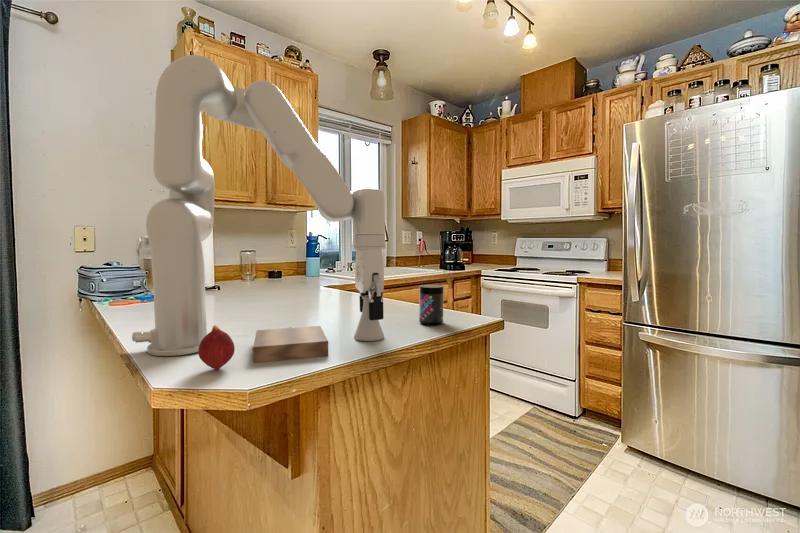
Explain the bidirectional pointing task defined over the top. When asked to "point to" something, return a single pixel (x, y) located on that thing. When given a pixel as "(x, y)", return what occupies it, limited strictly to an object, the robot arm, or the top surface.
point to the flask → (368, 325)
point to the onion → (216, 348)
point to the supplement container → (431, 304)
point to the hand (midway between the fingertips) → (371, 315)
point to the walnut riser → (289, 343)
